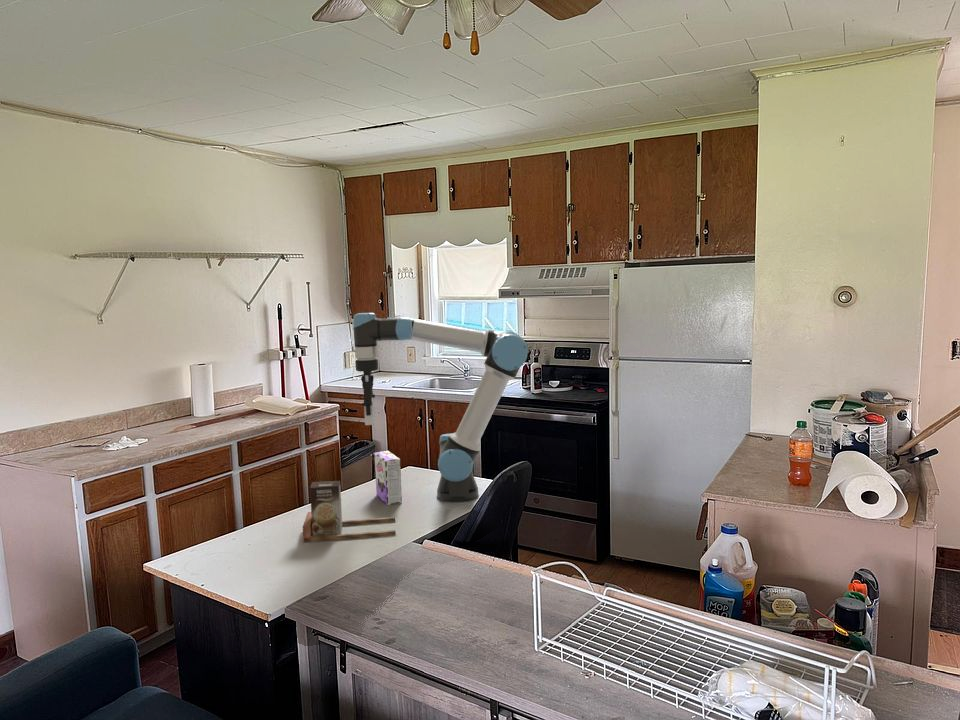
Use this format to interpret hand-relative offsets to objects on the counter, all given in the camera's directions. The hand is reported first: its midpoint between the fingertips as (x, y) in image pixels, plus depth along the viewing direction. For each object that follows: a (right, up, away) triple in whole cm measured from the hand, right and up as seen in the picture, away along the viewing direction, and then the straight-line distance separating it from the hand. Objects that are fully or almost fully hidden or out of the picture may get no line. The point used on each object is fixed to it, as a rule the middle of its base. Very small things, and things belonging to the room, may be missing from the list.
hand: (369, 420), depth 230 cm
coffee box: (-11, -34, -16) cm, 39 cm away
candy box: (+4, -30, +16) cm, 35 cm away
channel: (-3, -34, -15) cm, 37 cm away
